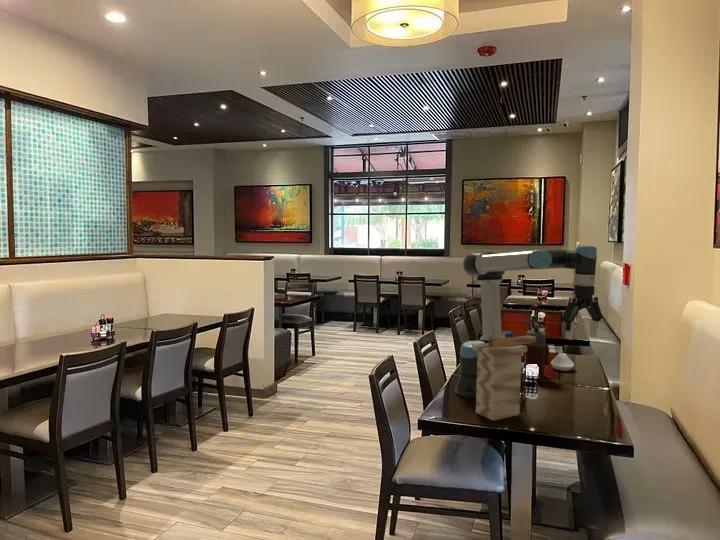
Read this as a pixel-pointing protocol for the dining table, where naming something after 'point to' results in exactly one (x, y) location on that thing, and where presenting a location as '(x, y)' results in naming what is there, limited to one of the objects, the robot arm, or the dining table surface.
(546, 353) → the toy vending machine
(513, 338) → the strip
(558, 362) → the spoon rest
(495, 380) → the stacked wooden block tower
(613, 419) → the dining table surface
